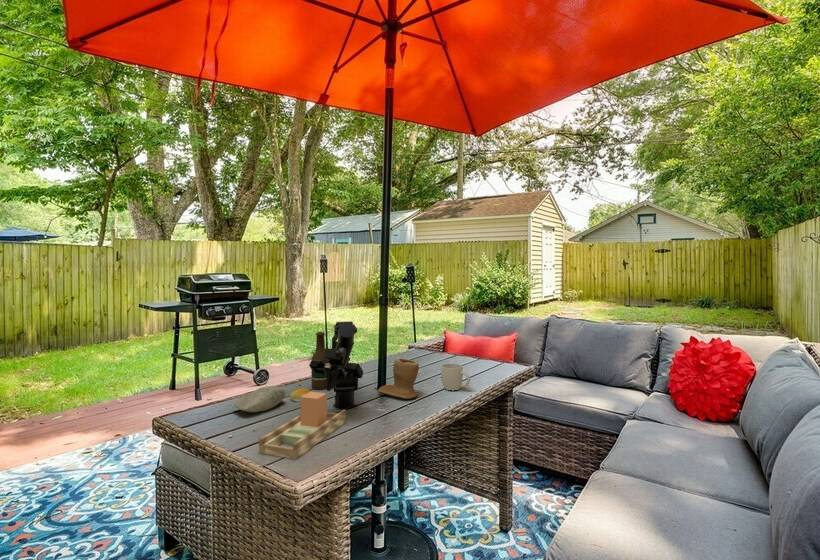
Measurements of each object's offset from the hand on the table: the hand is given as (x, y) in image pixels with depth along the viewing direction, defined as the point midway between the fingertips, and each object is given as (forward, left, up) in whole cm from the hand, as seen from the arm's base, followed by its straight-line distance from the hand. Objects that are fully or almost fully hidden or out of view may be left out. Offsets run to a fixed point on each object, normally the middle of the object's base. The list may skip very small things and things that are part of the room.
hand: (328, 390), depth 148 cm
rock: (+9, -28, -11) cm, 32 cm away
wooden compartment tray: (+12, +6, -10) cm, 17 cm away
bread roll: (-8, -28, -11) cm, 31 cm away
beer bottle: (-22, -35, -11) cm, 43 cm away
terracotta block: (+8, +4, -8) cm, 12 cm away
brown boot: (-38, -2, -11) cm, 39 cm away
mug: (-60, +9, -11) cm, 61 cm away
